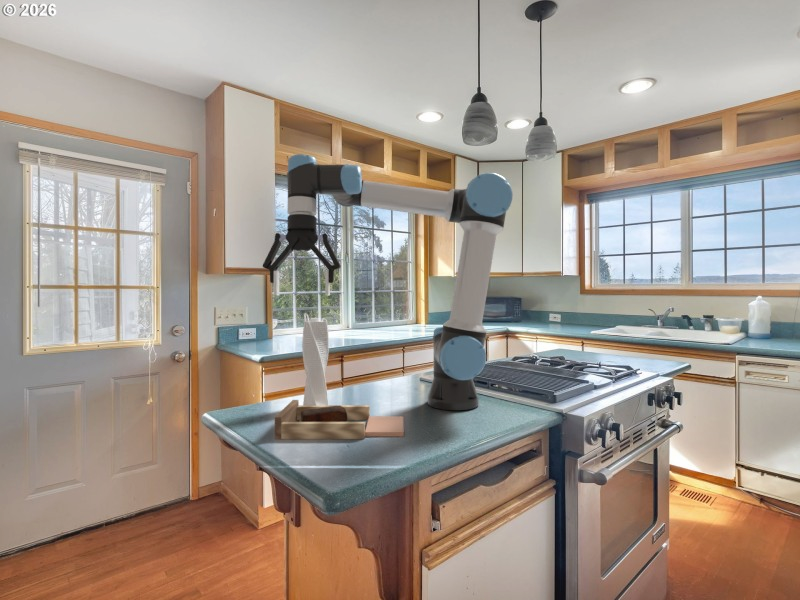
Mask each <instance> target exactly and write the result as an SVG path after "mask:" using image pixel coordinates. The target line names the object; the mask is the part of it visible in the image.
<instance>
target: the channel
mask: <svg viewBox="0 0 800 600" xmlns="http://www.w3.org/2000/svg"><path fill="white" fill-rule="evenodd" d="M299 403H300V402H299V399H292V401H290V402H289V403H288V404H287V405H285V407H284V408H283V409H281V410H280V412H279V413H277V415H275V416H274V440H365V437H366V436H365V430H366V422H365V421H368V419H369V417H371V416H370V413H371V412H370V411H371V410H370V404H369V405H366V404H365V405H363V404H361V405H359V404H358V405H352V404H351V405H350V404H347V405H343V404H342V405H340V404H339V406H342V407H344V408H345V409H346V412H347V422H301V411H303V410H308V409H317V408H323V407H331V406H338V405H337V404H336V405H333V404H332V405H329V404H328V405H303V404H302V405H299Z"/></svg>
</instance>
